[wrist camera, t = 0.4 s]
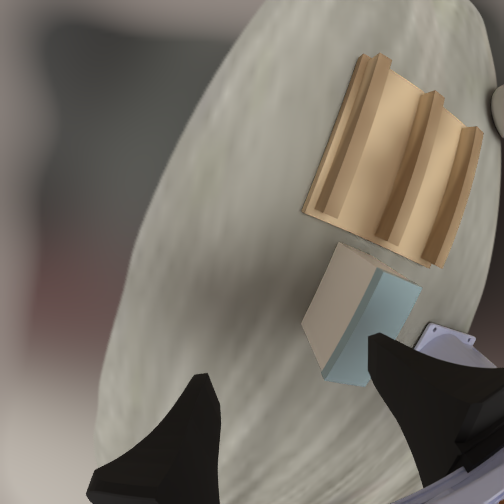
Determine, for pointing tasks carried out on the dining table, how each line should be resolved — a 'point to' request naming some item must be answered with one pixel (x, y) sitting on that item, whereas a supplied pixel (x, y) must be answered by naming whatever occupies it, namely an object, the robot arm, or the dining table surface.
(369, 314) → the tall pale blue block
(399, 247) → the rack
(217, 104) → the dining table surface
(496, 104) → the plastic bottle
